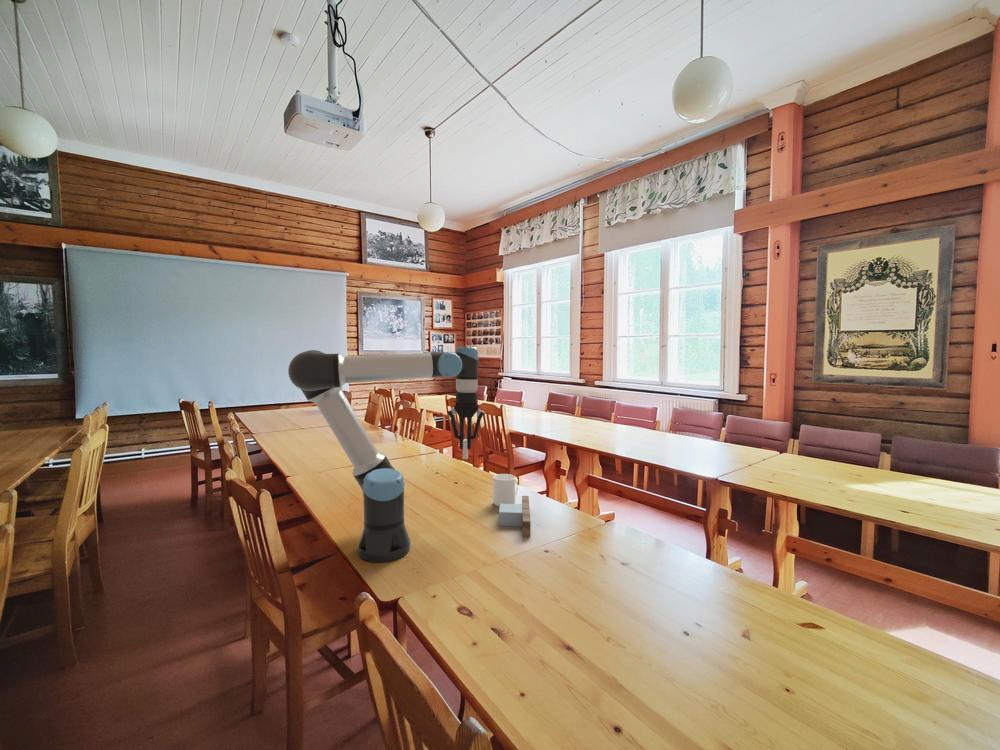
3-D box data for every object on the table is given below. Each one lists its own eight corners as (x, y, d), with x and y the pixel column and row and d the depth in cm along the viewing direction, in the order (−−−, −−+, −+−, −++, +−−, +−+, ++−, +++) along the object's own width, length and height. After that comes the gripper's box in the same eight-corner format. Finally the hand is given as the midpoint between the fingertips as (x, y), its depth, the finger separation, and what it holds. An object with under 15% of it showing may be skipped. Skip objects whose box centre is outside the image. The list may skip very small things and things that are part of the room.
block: (522, 526, 146) (522, 512, 146) (499, 526, 147) (499, 512, 146) (522, 517, 154) (522, 504, 154) (500, 517, 155) (500, 503, 154)
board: (530, 536, 138) (530, 521, 138) (522, 536, 138) (522, 520, 138) (528, 508, 162) (528, 495, 162) (521, 508, 162) (521, 495, 162)
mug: (525, 501, 170) (525, 475, 169) (503, 509, 161) (503, 481, 161) (510, 496, 176) (510, 470, 175) (488, 503, 168) (488, 476, 167)
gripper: (486, 390, 151) (484, 456, 153) (449, 389, 152) (448, 454, 153) (484, 392, 144) (482, 461, 145) (446, 391, 144) (444, 460, 146)
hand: (465, 458), depth 149 cm, fingers closed
